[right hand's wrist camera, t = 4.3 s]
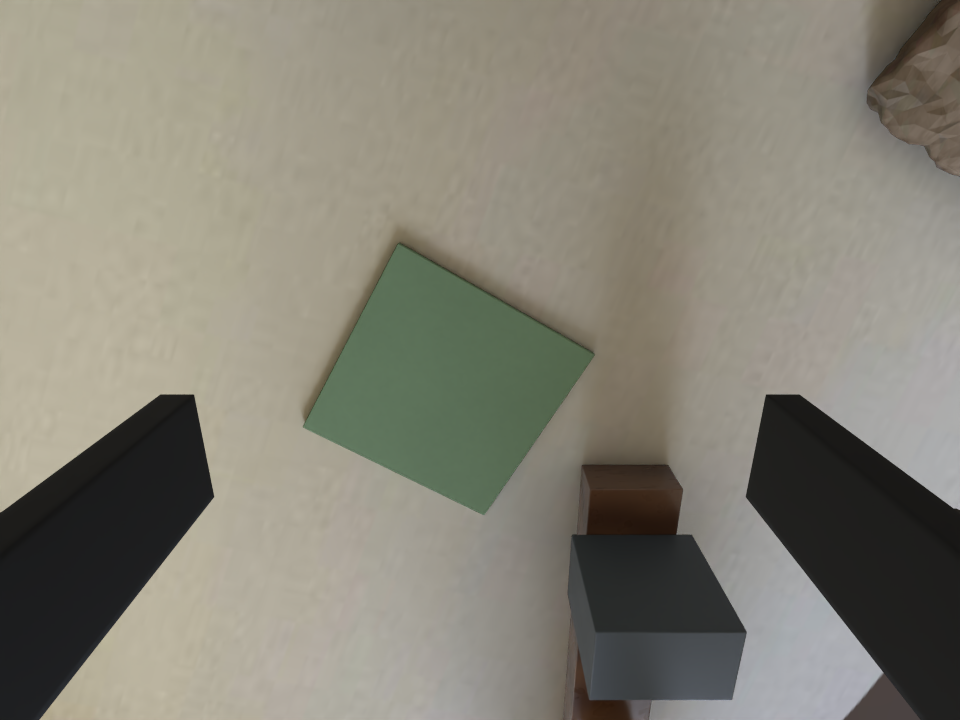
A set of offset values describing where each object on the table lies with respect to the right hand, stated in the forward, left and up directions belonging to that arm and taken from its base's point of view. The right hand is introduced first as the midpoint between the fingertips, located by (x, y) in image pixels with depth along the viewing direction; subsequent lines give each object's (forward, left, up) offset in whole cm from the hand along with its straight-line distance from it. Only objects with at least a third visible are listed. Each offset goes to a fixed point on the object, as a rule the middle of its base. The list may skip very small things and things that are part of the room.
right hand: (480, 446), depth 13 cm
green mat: (+8, +2, -22) cm, 23 cm away
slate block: (+12, +18, -19) cm, 29 cm away
